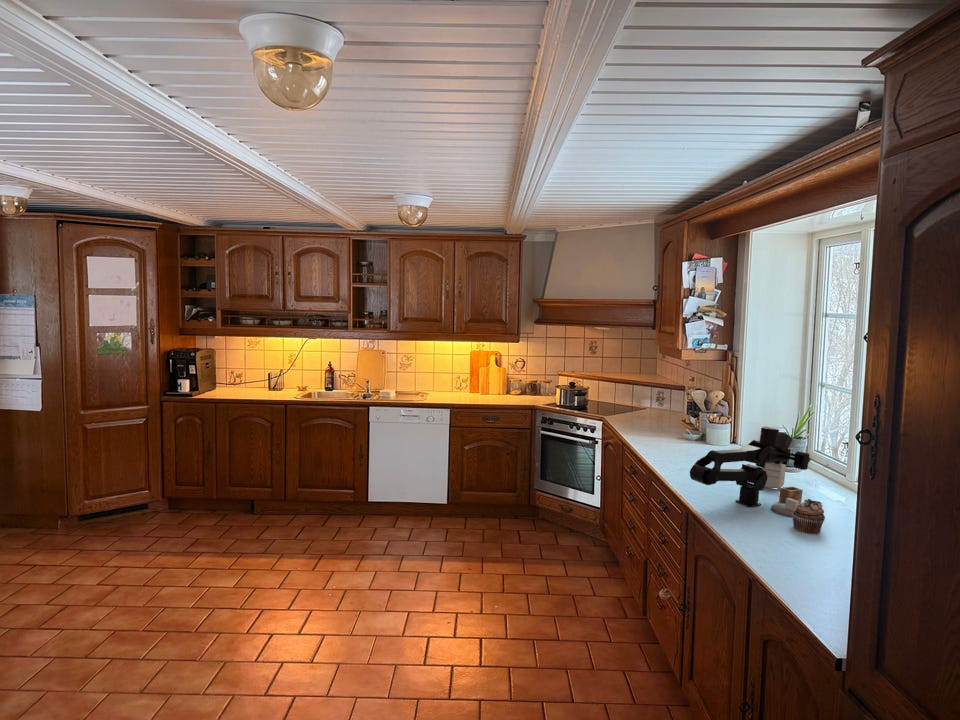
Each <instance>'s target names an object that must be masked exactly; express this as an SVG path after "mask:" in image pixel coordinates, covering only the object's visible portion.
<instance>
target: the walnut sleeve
mask: <svg viewBox="0 0 960 720" xmlns="http://www.w3.org/2000/svg"><path fill="white" fill-rule="evenodd" d="M786 498H791V499H794V500H797V501H799V502H801V503H802V499H803V489H802V488H798V487H796V486H784V487H783V488H780V490H779V496H778V502H781V501H782V502H781V503H784V502H785V503H784V504H786Z"/></svg>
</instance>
